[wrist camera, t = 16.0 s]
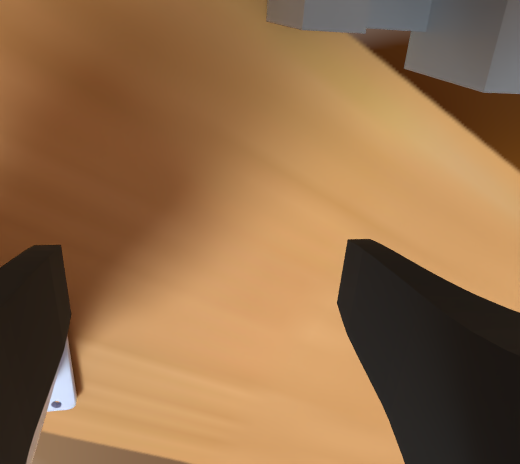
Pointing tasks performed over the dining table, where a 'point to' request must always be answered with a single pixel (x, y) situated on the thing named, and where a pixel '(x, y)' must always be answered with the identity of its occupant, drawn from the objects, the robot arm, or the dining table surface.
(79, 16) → the dining table surface
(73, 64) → the dining table surface
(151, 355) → the dining table surface
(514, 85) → the grey stepped block
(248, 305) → the dining table surface
